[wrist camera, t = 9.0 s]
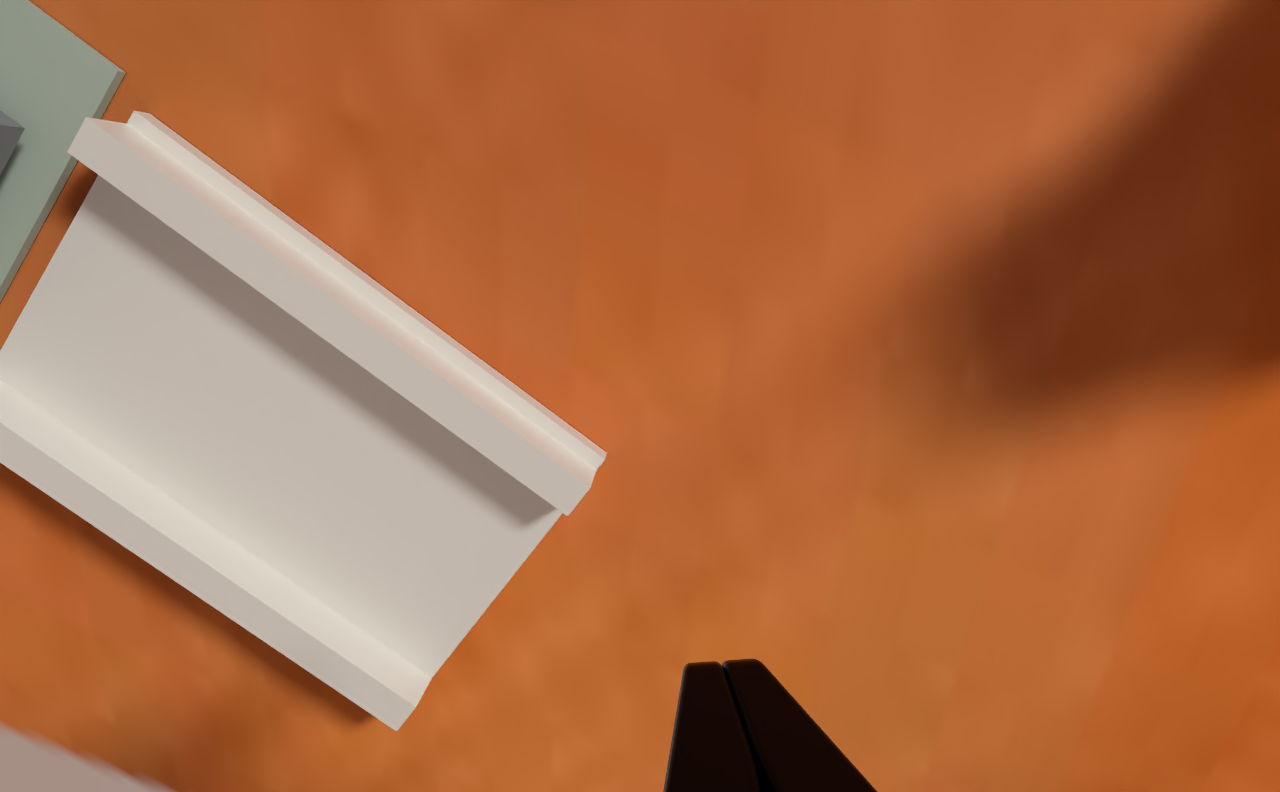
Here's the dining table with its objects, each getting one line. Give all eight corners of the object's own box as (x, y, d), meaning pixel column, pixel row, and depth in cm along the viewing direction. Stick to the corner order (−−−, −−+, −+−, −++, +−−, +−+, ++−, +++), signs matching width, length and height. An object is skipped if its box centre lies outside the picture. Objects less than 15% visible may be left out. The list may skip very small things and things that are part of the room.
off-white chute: (607, 453, 22) (599, 475, 20) (412, 698, 24) (388, 741, 22) (149, 113, 20) (94, 102, 19) (-15, 406, 23) (-81, 423, 21)
